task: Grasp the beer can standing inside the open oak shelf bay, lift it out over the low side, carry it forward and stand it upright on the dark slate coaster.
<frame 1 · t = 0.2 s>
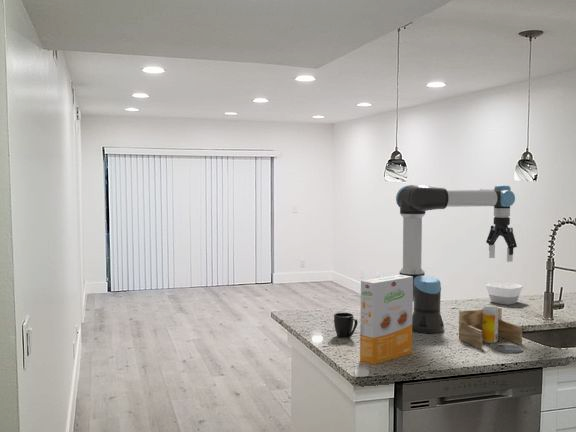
hand: (500, 259, 288), 28 cm above the worktop, fingers open, 13 cm apart
mug: (346, 338, 248), on the worktop
beer can: (489, 341, 243), on the worktop
cereal box: (386, 357, 222), on the worktop
shelf bay: (489, 341, 243), on the worktop
coaster: (508, 349, 231), on the worktop
bowl: (503, 302, 321), on the worktop
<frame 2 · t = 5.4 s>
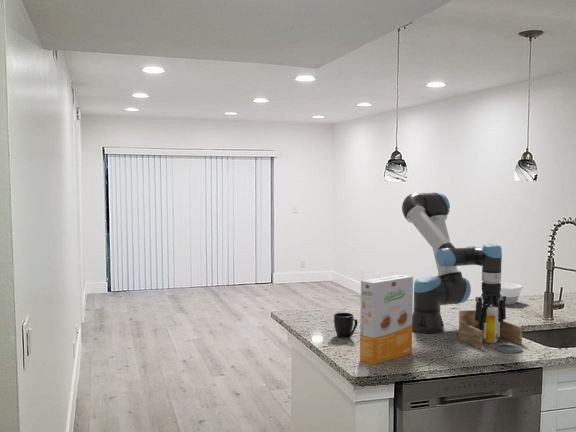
hand: (489, 336, 243), 2 cm above the worktop, fingers closed on beer can, 6 cm apart
beer can: (489, 341, 243), on the worktop, touching gripper
everything else where it was.
when the fingers open (3 cm above the worktop, at t = 10.8 s): beer can stays where it is, resting on coaster.
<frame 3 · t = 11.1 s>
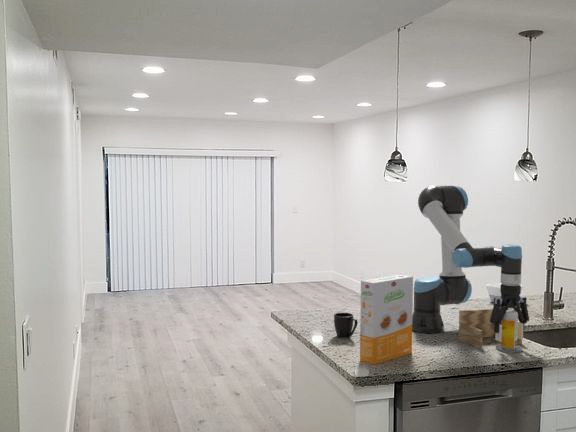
hand: (509, 339, 231), 4 cm above the worktop, fingers open, 9 cm apart
beer can: (508, 348, 231), resting on coaster
everything else where it was.
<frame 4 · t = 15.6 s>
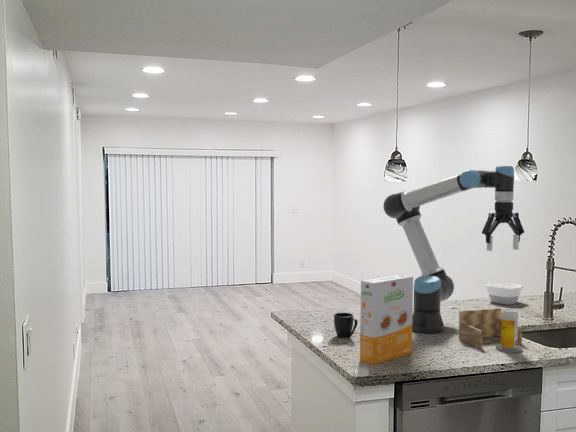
hand: (502, 250, 254), 37 cm above the worktop, fingers open, 13 cm apart
nothing on the worktop moved.
at the end: beer can 0.0 cm from the coaster (horizontally); beer can tilted 0°; the gripper is holding nothing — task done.
